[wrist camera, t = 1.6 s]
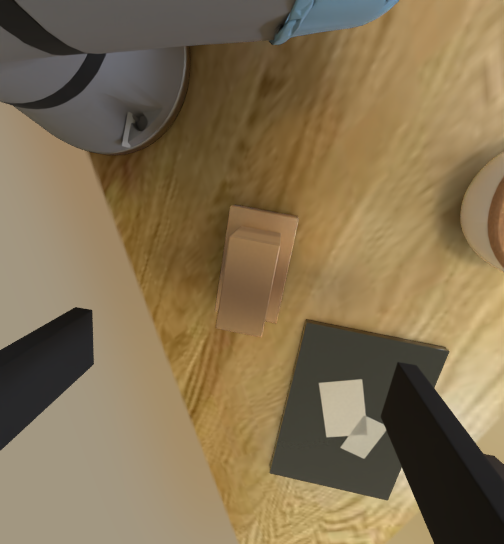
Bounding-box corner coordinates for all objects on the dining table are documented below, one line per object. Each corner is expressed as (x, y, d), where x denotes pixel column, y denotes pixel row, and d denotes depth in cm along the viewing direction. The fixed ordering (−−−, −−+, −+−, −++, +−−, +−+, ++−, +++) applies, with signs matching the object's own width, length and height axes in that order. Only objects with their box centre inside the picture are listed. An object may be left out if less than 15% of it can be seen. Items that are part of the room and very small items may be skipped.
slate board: (305, 319, 30) (306, 322, 29) (445, 347, 29) (450, 351, 28) (269, 467, 36) (269, 473, 35) (385, 494, 35) (388, 501, 34)
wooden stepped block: (234, 204, 28) (214, 210, 19) (297, 215, 27) (303, 227, 19) (220, 301, 30) (196, 342, 22) (277, 313, 30) (274, 359, 22)
